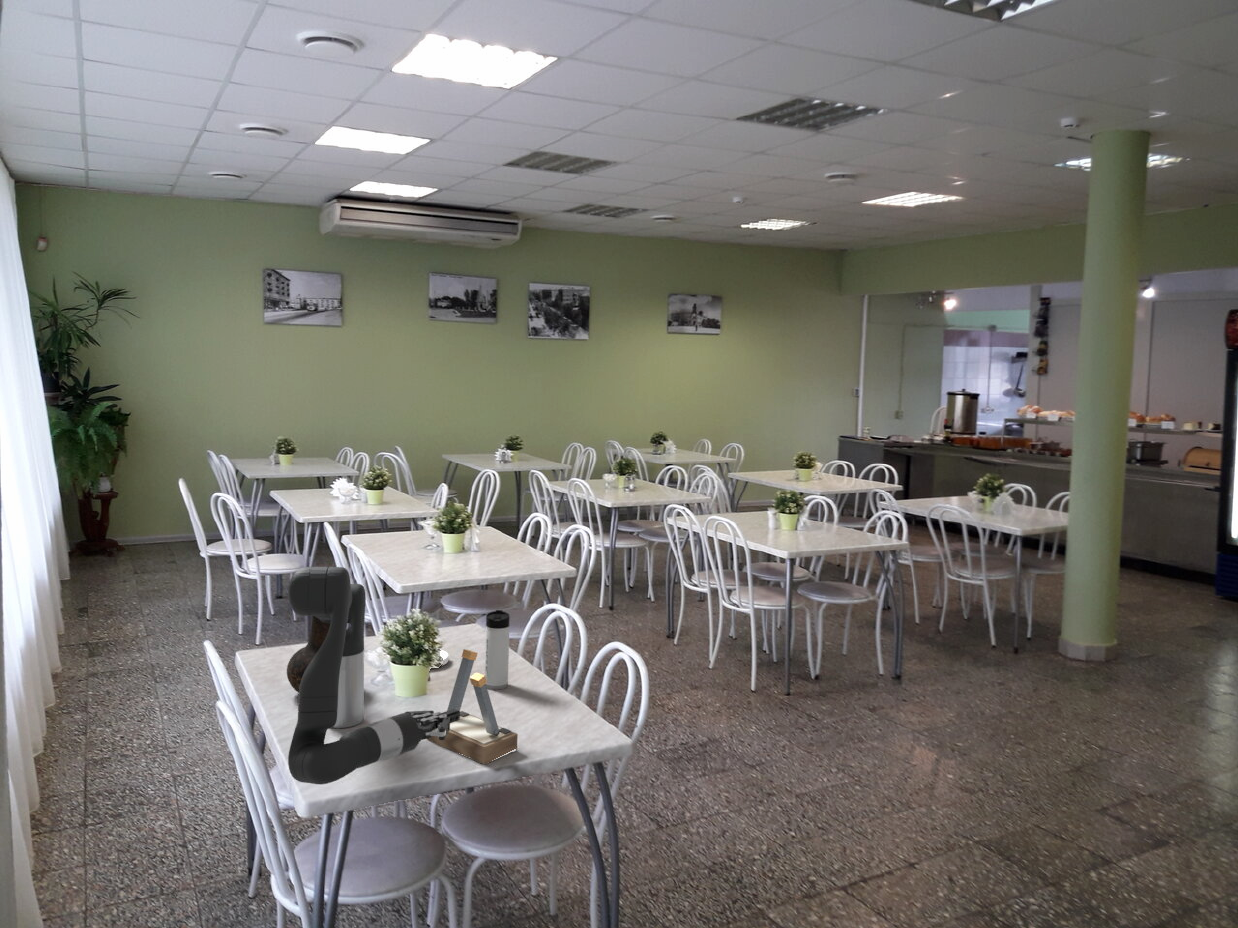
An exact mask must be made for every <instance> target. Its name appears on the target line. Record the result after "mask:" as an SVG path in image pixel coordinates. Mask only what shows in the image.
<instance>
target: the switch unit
mask: <svg viewBox="0 0 1238 928" xmlns="http://www.w3.org/2000/svg"><path fill="white" fill-rule="evenodd" d="M498 728H499V735H498V736H495V735H492V734H489V733H487V732H486V728H485V725H484V721H483V718H479V717H477V716H474V715H472V714H470V713H468V712H465V711H463V710H460V719H459V720H458V721H456V722H453V723H450V730H449V732H448V734H447V736H446V738H445V740H439V737H438V736H432V737H431V738H429V739H426V740H427V741H429V742H432V743H433V744H437V746H441V747H443V748H445V749H447V750H449V749H450V751H452V750H453V751H452V752H454V753H456V752H457V754H458V753H460V754H463V755H465V756H467V757H470V758H472V759H474V760H476V761H478V762H480V763H482V764H481V765H483V764H485V765H487V764H489V763H488V762H490V761H492V760H494V759H496V758H498V757H500V756H502V755H504V754H506V753H508V752H510V751H512V750H514V749H516V748H517V749H518V735H519V733H517V732H514V731H512V730H511V729H507V728H505V727H502V726H500V725H498ZM460 754H459V755H460ZM463 755H462V756H463ZM465 756H464V757H465ZM467 757H466V758H467ZM472 759H471V760H472ZM474 760H473V761H474ZM476 761H475V762H476ZM478 762H477V763H478ZM492 762H493V761H492ZM480 763H479V764H480ZM486 763H487V764H486ZM490 763H491V762H490Z"/></svg>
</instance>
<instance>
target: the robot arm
mask: <svg viewBox="0 0 1238 928" xmlns="http://www.w3.org/2000/svg"><path fill="white" fill-rule="evenodd" d="M287 595H288V602H289V606H290V607H291V609H292V611H293V612H294V614H296V615H298V616H303V617H306V616H307V617H309V616H311V617H312V616H315V617H317V618H319V619H320V620H321V621H322V622H324V623H330V628H329V631H328V634H327V636H326V638H325V640H324V642H323V644H322V646H321V647H320V649H319V651H318V652H317V654H316V655H315V657H314V658H313V659H312V661H311V662H310V664H309V665H308V667H307V669H306V670H305V672H304V674H303V677H302V679H301V682H300V687H299V693H298V705H297V706H298V707H297V722H296V726H295V729H294V731H293V735H292V738H291V743H290V746H289V750H288V755H287V756H288V757H287V759H288V760H287V762H288V770H289V773H290V774H291V776H292V778H293V779H294V780H296V781H297V782H300V783H305V784H313V785H327V784H330V783H333V782H336V781H339V780H340V779H343V778H344V777H346V776H348V775H350V773H353V772H354V771H356V770H357V769H360V768H364V767H365V766H366V767H367V766H369V765H371V764H374V763H377V762H381V761H382V762H383V761H386V760H389V759H392V758H394V757H397V756H400V755H402V754H405V753H408V752H410V751H413V750H415V749H416V748H417V746H418V745H419V744H420V742H421V741H424V740H427V739H429V738H431V737H432V736H438V737H439V740H445V738H446V736H447V734H448V732H449V730H450V723H453V722H456V721H458V720H459V719H460V711H461V710H460V711H459V710H456V709H452V710H449V711H447V710H446V711H443V712H441V711H437V712H434V710H415V711H414V710H413V711H410V710H409V711H405V712H402V713H399V714H396V715H393V716H390V717H387V718H384V719H380V720H378V721H375V722H373V723H371V724H368V725H366V726H364V727H360V728H357V729H354V730H352V731H349V732H346V733H344V734H343V735H342V736H341V737H340V738H339V740H335V741H332V742H328V743H325V739H326V735H327V732H328V730H330V729H332V728H336V729H338V728H339V729H340V728H341V729H342V728H351V727H354V726H357V725H359V724H361V723H362V722H363V721H364V709H365V707H364V705H365V704H364V695H365V694H364V693H365V692H364V691H365V618H366V617H365V616H366V615H365V614H366V606H367V605H366V601H367V599H366V598H367V597H366V595H367V594H366V589H365V587H364V586H363V584H360V583H351V576H350V573H349V571H348V569H347V568H346V567H343V566H305V567H300V568H298V569H296V570H295V571H294V572H293V574H292V575H291V578H290V580H289V583H288V589H287ZM348 624H349V626H348Z"/></svg>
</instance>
